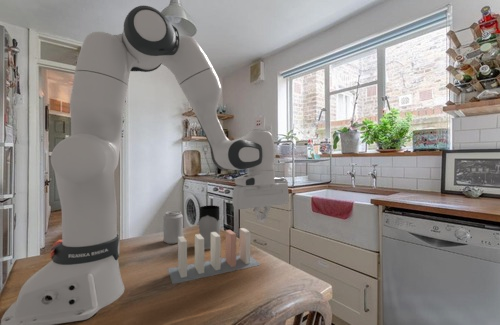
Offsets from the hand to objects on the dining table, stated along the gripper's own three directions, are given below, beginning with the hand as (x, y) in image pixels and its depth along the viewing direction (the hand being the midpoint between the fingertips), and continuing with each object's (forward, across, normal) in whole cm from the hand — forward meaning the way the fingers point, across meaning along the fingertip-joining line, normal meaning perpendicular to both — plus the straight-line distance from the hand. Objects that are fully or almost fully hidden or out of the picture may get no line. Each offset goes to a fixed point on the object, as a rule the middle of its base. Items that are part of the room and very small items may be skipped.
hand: (262, 219), depth 82 cm
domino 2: (+12, +22, 0) cm, 25 cm away
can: (+13, +25, -30) cm, 41 cm away
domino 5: (+13, +7, 0) cm, 14 cm away
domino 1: (+12, +27, 0) cm, 29 cm away
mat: (+13, +17, 0) cm, 21 cm away
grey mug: (+13, +12, -21) cm, 27 cm away
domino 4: (+13, +12, 0) cm, 17 cm away
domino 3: (+12, +17, 0) cm, 21 cm away
